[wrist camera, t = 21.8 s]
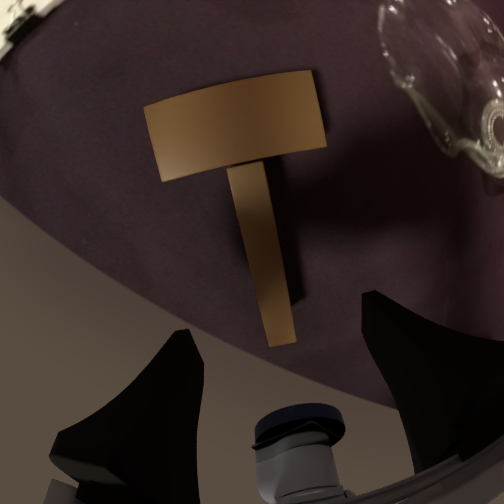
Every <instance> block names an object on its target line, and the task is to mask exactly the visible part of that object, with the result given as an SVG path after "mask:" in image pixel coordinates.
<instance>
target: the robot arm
mask: <svg viewBox="0 0 504 504" xmlns="http://www.w3.org/2000/svg"><path fill="white" fill-rule="evenodd" d="M361 332H362V334H363V337H364V339H365V342H366V345H367V347H368V350H369V352H370V354H371V355H372V357H373V359H374V361H375V363H376V365H377V366H378V368H379V370H380V372H381V374H382V376H383V377H384V379H385V381H386V383H387V385H388V387H389V389H390V391H391V393H392V395H393V397H394V400H395V403H396V405H397V408H398V411H399V413H400V417H401V420H402V423H403V426H404V429H405V432H406V436H407V440H408V444H409V448H410V452H411V456H412V461H413V466H414V472H415V475H413V476H411V477H409V478H406V479H404V480H401V481H399V482H396V483H394V484H391V485H388V486H385V487H383V488H380V489H377V490H374V491H371V492H368V493H365V494H361V495H358V496H356V495H355V494H354V493H353V492H351V491H350V490H345V491H344V490H343V486H342V485H341V486H340V483H339V479H338V475H337V470H336V466H335V462H334V457H333V453H332V449H331V445H330V444H332V443H334V442H336V441H338V440H340V437H339V436H338V435H336V434H334V433H333V432H331V431H329V430H328V429H326V428H324V427H323V426H321V425H319V424H318V423H316V422H315V421H308V422H306V423H304V424H302V425H300V426H297V427H295V428H293V429H291V430H288V431H286V432H284V433H281V434H279V435H276V436H274V437H271V438H269V439H266V440H264V441H261V442H258V443H256V444H253V445H252V446H251V448H252V449H254V450H255V454H256V455H255V456H256V475H257V487H258V490H259V493H260V495H261V496H262V498H263V499H264V500H265V501H266V502H268V503H269V504H395V503H397V502H399V501H402V500H404V501H402V502H400V503H398V504H487V503H489V502H490V501H491V500H493V499H494V498H495V497H497V496H498V495H499V494H501V493H502V492H503V491H504V341H496V340H490V339H484V338H479V337H475V336H471V335H467V334H464V333H460V332H457V331H454V330H451V329H449V328H446V327H444V326H441V325H439V324H436V323H434V322H432V321H430V320H428V319H426V318H424V317H422V316H420V315H418V314H416V313H414V312H412V311H410V310H408V309H407V308H405V307H403V306H401V305H400V304H398V303H396V302H395V301H393V300H391V299H390V298H388V297H386V296H385V295H383V294H381V293H379V292H378V291H376V290H373V291H370V292H366V293H362V328H361ZM203 385H204V362H203V360H202V358H201V356H200V354H199V351H198V349H197V347H196V344H195V342H194V340H193V337H192V335H191V333H190V330H189V329H185V330H178V331H175V332H174V333H173V334H172V335H171V337H170V338H169V339H168V340H167V342H166V343H165V344H164V345H163V347H162V348H161V349H160V350H159V352H158V353H157V354H156V355H155V357H154V358H153V359H152V360H151V362H150V363H149V364H148V365H147V366H146V367H145V368H144V370H143V371H142V372H141V373H140V374H139V375H138V376H137V377H136V379H135V380H134V381H133V382H132V383H131V384H130V385H129V386H128V387H126V388H125V389H124V390H123V391H122V392H121V393H120V394H119V395H118V396H116V397H115V398H114V399H113V400H111V401H110V402H109V403H107V404H106V405H105V406H104V407H102V408H101V409H100V410H98V411H97V412H95V413H94V414H92V415H90V416H89V417H87V418H85V419H84V420H82V421H80V422H78V423H76V424H75V425H73V426H71V427H69V428H66V429H64V430H62V431H60V432H58V434H57V437H56V439H55V442H54V444H53V447H52V449H51V452H50V454H49V458H50V460H51V461H52V463H53V464H54V465H55V466H57V467H58V468H59V469H60V470H62V471H63V472H64V473H66V474H67V475H68V476H70V477H71V478H73V479H74V480H76V481H77V482H78V483H79V486H78V488H76V487H73V486H71V485H69V484H66V483H63V482H60V481H58V480H55V479H51V482H50V485H49V488H48V491H47V494H46V497H45V500H44V504H200V498H199V489H198V476H197V427H198V426H197V425H198V420H199V413H200V406H201V400H202V393H203ZM409 497H410V498H409ZM407 498H408V499H407ZM405 499H406V500H405Z"/></svg>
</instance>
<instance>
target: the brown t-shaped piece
mask: <svg viewBox="0 0 504 504" xmlns="http://www.w3.org/2000/svg"><path fill="white" fill-rule="evenodd" d="M144 112H145V117H146V121H147V126H148V130H149V134H150V138H151V142H152V146H153V150H154V154H155V158H156V162H157V166H158V169H159V173H160V177H161V180H162V182H167V181H170V180H174V179H177V178H181V177H185V176H188V175H192V174H196V173H200V172H204V171H208V170H212V169H216V168H220V167H224V166H228V167H227V169H226V170H227V175H228V179H229V183H230V187H231V192H232V196H233V200H234V204H235V208H236V213H237V217H238V221H239V225H240V229H241V233H242V238H243V242H244V246H245V250H246V254H247V258H248V262H249V267H250V271H251V275H252V279H253V283H254V287H255V291H256V295H257V299H258V303H259V308H260V312H261V316H262V320H263V324H264V328H265V332H266V336H267V340H268V344H269V347H273V346H278V345H283V344H288V343H293V342H296V341H297V340H296V334H295V328H294V322H293V316H292V310H291V305H290V299H289V293H288V287H287V282H286V276H285V271H284V265H283V260H282V254H281V249H280V244H279V238H278V233H277V228H276V223H275V218H274V213H273V207H272V202H271V197H270V193H269V188H268V183H267V178H266V173H265V168H264V164H263V161H262V160H261V158H266V157H271V156H276V155H282V154H287V153H293V152H299V151H305V150H311V149H317V148H324V147H327V143H326V137H325V132H324V127H323V121H322V116H321V112H320V107H319V102H318V97H317V93H316V89H315V84H314V80H313V76H312V72H311V70H303V71H294V72H286V73H278V74H271V75H265V76H259V77H253V78H248V79H243V80H238V81H233V82H228V83H224V84H220V85H215V86H211V87H207V88H203V89H200V90H196V91H192V92H189V93H185V94H182V95H178V96H175V97H172V98H169V99H166V100H162V101H159V102H156V103H154V104H151V105H148V106H145V107H144Z"/></svg>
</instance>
